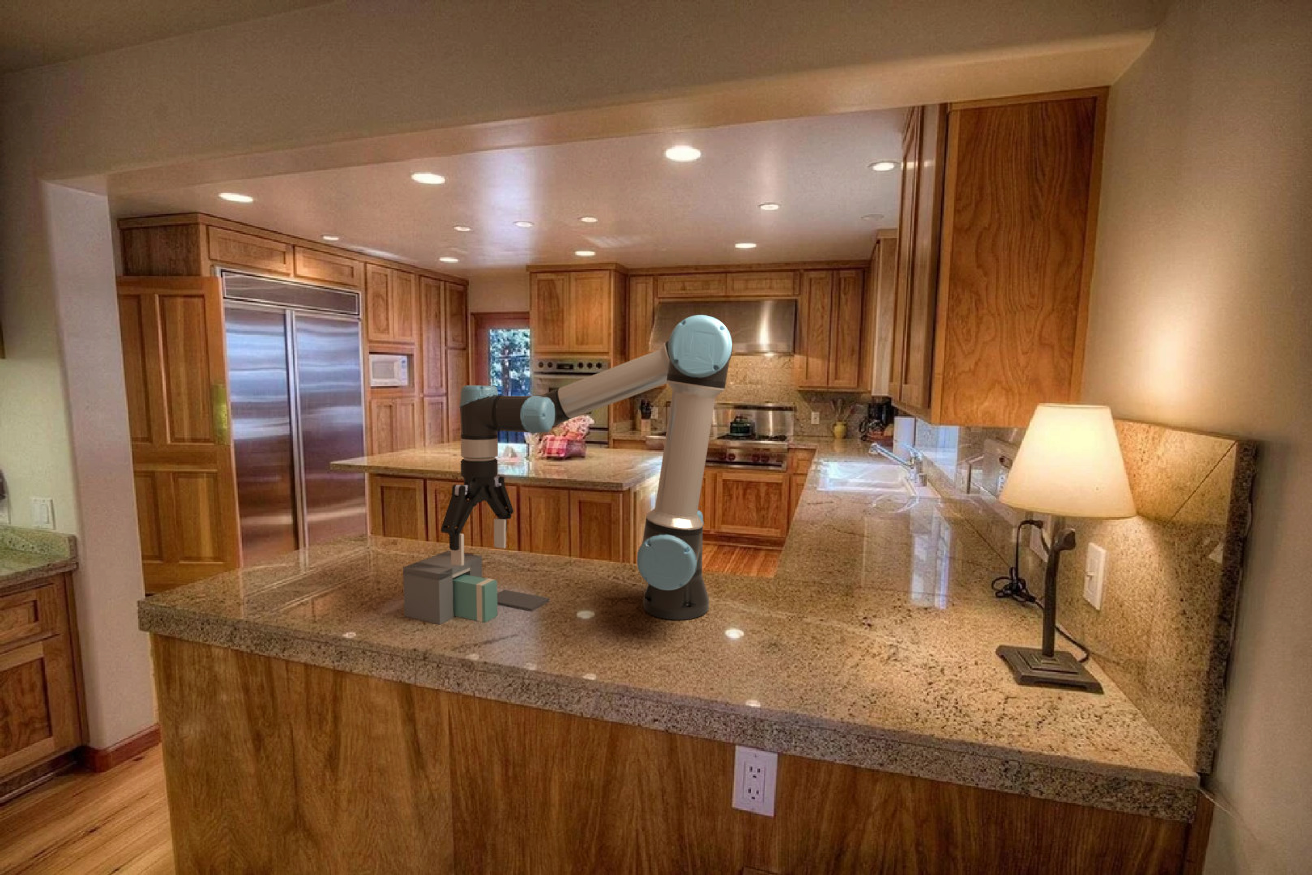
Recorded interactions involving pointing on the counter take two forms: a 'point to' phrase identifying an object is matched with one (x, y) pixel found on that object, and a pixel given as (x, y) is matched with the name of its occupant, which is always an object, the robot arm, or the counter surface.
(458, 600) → the banded gift box
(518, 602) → the pad
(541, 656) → the counter surface
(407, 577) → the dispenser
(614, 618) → the counter surface
